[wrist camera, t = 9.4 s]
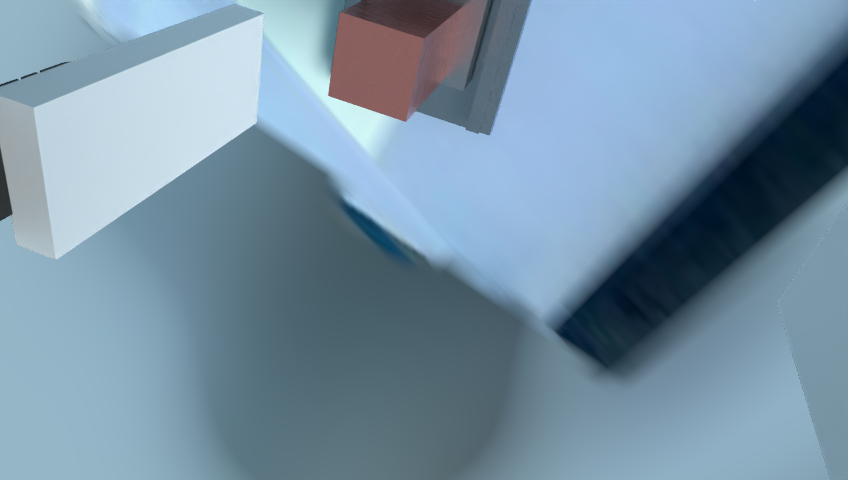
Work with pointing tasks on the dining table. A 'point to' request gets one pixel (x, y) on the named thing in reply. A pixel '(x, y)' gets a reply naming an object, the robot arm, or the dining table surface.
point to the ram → (405, 51)
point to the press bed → (481, 71)
